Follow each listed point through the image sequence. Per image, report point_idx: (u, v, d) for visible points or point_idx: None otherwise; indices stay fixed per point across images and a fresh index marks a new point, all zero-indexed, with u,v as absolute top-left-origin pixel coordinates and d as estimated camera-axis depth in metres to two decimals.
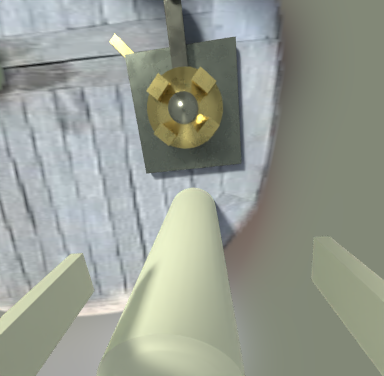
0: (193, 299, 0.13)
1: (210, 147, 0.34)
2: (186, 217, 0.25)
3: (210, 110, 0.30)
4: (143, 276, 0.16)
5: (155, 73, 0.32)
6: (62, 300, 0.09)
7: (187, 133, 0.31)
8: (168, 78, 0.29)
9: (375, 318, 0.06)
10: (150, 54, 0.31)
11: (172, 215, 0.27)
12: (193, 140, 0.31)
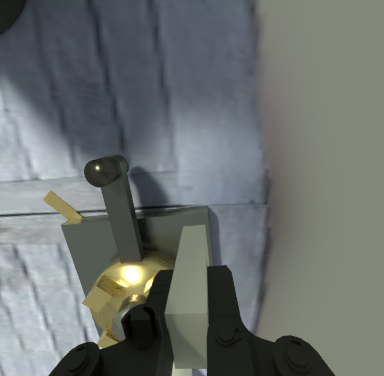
0: None
1: None
2: None
3: None
4: None
5: (103, 246, 0.24)
6: None
7: None
8: (114, 277, 0.21)
9: None
10: (95, 226, 0.23)
11: None
12: None
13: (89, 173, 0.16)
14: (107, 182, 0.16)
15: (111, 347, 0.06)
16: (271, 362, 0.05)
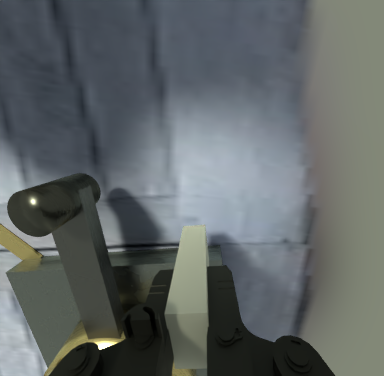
0: None
1: None
2: None
3: None
4: None
5: (68, 303, 0.16)
6: None
7: None
8: None
9: None
10: (55, 275, 0.16)
11: None
12: None
13: (17, 213, 0.09)
14: (50, 229, 0.09)
15: (111, 347, 0.06)
16: (271, 362, 0.05)
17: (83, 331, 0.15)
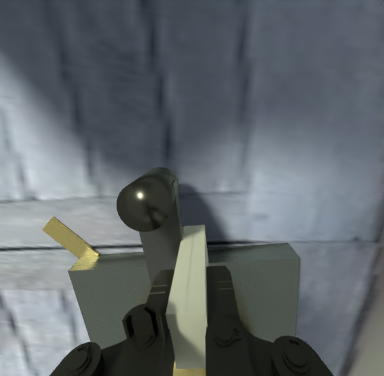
0: None
1: None
2: None
3: None
4: None
5: (131, 302, 0.16)
6: None
7: None
8: None
9: None
10: (120, 274, 0.15)
11: None
12: None
13: (126, 207, 0.09)
14: (160, 223, 0.09)
15: (112, 347, 0.06)
16: (270, 362, 0.05)
17: None
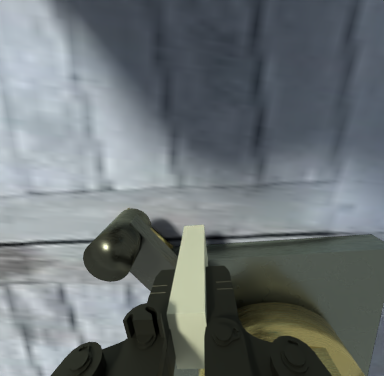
0: None
1: None
2: None
3: None
4: None
5: None
6: None
7: None
8: None
9: None
10: None
11: None
12: None
13: (95, 267, 0.10)
14: (128, 265, 0.09)
15: (113, 347, 0.06)
16: (268, 362, 0.05)
17: None
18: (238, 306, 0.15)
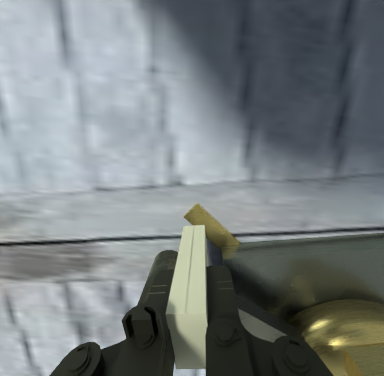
0: None
1: None
2: None
3: None
4: None
5: (285, 292, 0.15)
6: None
7: None
8: None
9: None
10: (281, 262, 0.14)
11: None
12: None
13: None
14: None
15: (112, 347, 0.06)
16: (270, 362, 0.05)
17: None
18: (312, 303, 0.15)
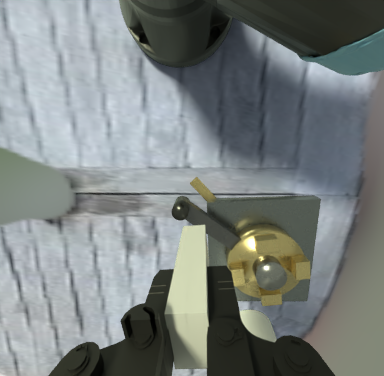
0: None
1: None
2: None
3: (287, 251, 0.29)
4: None
5: (235, 220, 0.32)
6: None
7: None
8: (235, 259, 0.30)
9: None
10: (233, 204, 0.31)
11: None
12: (293, 279, 0.30)
13: (176, 215, 0.27)
14: (187, 212, 0.27)
15: (111, 347, 0.06)
16: (271, 362, 0.05)
17: (228, 252, 0.31)
18: None
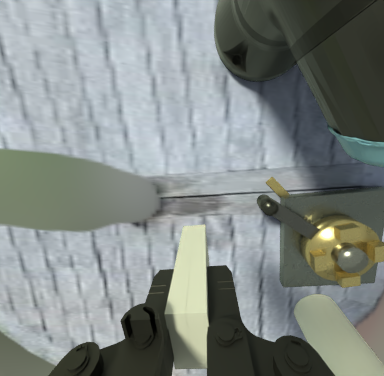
0: None
1: None
2: (371, 369, 0.29)
3: (364, 237, 0.33)
4: None
5: (310, 213, 0.35)
6: None
7: None
8: (315, 248, 0.34)
9: None
10: (308, 199, 0.35)
11: (345, 357, 0.31)
12: (368, 262, 0.34)
13: (267, 212, 0.31)
14: (277, 208, 0.31)
15: (111, 347, 0.06)
16: (271, 362, 0.05)
17: (306, 242, 0.35)
18: (321, 218, 0.36)
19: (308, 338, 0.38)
